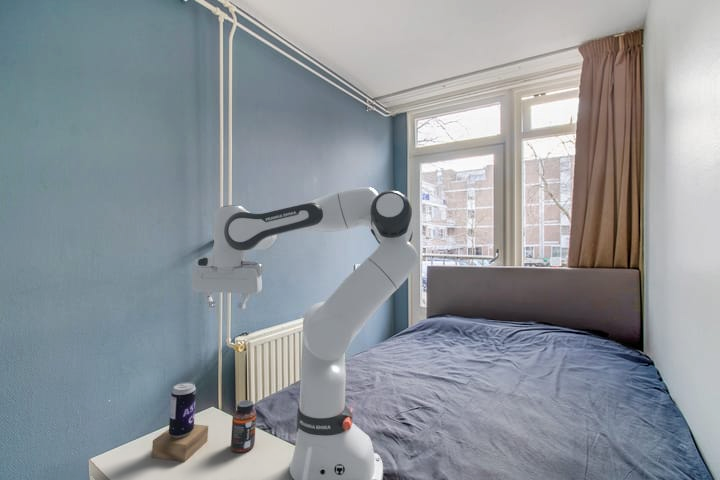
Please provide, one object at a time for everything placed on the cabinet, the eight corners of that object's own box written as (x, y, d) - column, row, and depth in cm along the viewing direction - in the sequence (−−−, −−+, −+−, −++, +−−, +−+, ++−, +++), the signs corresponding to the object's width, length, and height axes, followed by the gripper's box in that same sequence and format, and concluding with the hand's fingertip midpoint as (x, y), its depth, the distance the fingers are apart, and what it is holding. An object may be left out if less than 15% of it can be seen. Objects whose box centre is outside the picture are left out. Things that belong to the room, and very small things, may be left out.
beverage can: (182, 440, 80) (185, 391, 81) (163, 437, 81) (166, 388, 82) (198, 429, 86) (201, 383, 86) (180, 426, 87) (183, 380, 87)
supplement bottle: (254, 452, 83) (256, 407, 84) (229, 455, 81) (232, 409, 82) (254, 439, 89) (257, 397, 89) (231, 441, 87) (234, 399, 88)
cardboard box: (207, 441, 87) (208, 425, 87) (184, 461, 78) (185, 444, 78) (177, 437, 88) (178, 422, 89) (151, 457, 80) (152, 440, 80)
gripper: (266, 261, 96) (264, 307, 96) (202, 259, 99) (201, 305, 98) (257, 261, 90) (255, 311, 90) (189, 260, 93) (187, 308, 92)
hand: (226, 308), depth 94 cm, fingers open, 8 cm apart
